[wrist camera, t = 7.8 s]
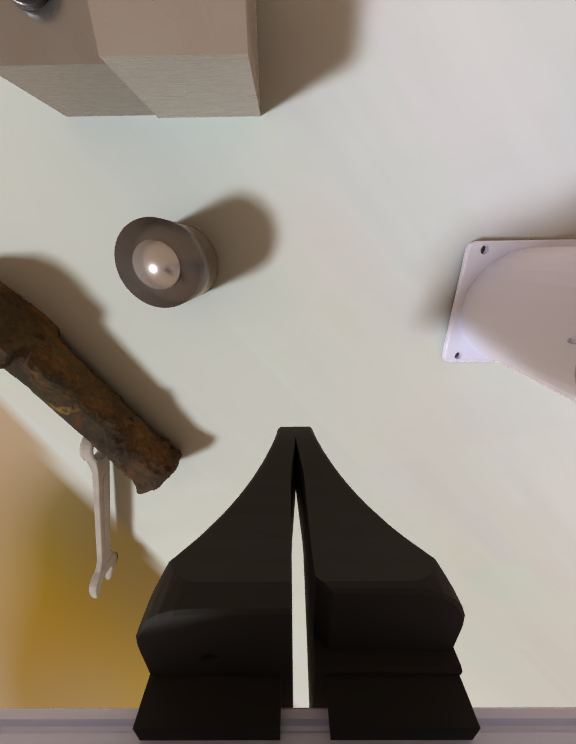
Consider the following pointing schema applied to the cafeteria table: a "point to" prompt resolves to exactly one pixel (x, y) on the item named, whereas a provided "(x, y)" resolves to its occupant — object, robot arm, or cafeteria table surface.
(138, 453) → the rough brown wooden log
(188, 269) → the socket
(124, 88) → the ratchet
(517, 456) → the cafeteria table surface
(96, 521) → the combination wrench
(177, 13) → the grey block
